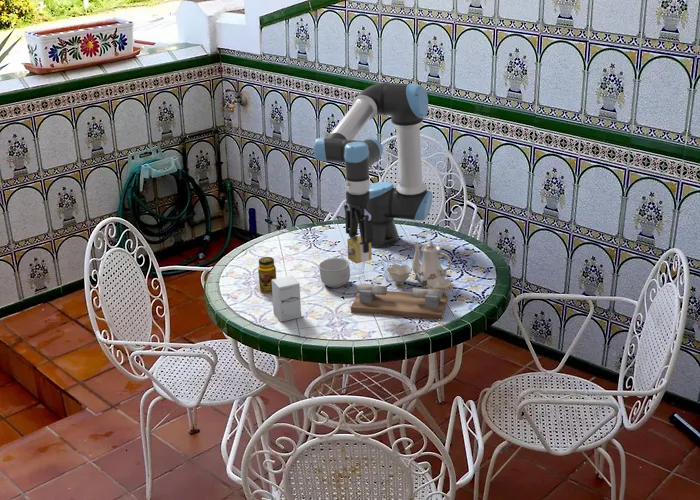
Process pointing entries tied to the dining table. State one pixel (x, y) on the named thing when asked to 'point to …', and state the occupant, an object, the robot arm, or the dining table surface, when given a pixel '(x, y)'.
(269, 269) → the condiment
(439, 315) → the rig
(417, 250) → the chinaware
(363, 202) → the robot arm
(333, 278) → the teacup
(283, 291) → the supplement box
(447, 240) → the dining table surface
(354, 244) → the block
